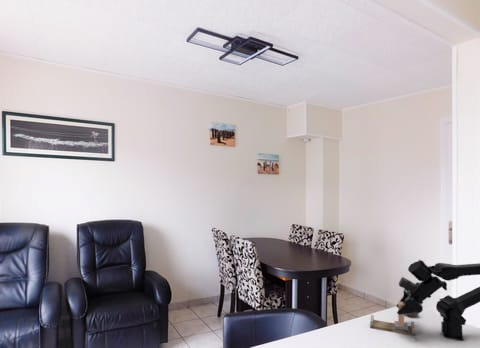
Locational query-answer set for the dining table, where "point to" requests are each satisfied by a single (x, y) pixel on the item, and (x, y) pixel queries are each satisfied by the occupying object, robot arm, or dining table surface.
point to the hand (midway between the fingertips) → (397, 310)
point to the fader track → (391, 327)
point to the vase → (412, 314)
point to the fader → (401, 319)
